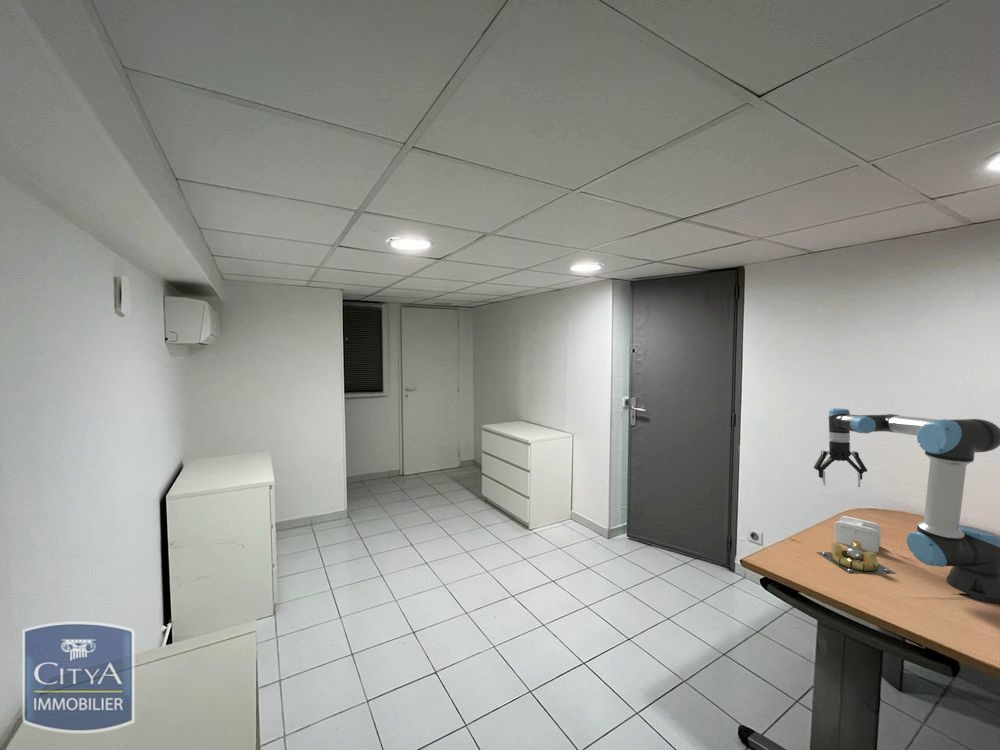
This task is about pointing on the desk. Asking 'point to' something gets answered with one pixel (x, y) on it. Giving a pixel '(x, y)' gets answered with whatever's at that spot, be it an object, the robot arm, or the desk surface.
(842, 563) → the ring nut
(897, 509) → the desk surface
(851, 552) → the flange
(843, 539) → the cable organizer
